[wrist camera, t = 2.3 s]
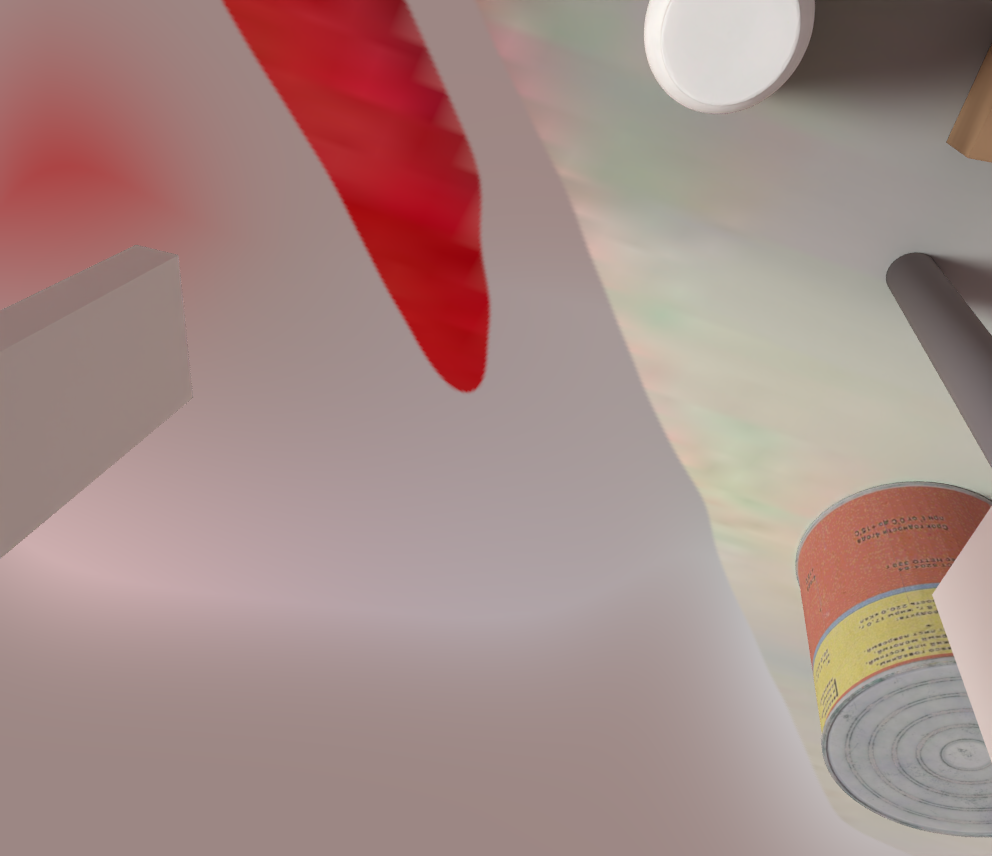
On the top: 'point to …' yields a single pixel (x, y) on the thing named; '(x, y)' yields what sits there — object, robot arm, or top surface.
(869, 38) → the top surface
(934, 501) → the canned food
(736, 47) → the supplement bottle
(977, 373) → the grey l-shaped post
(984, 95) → the socket block
